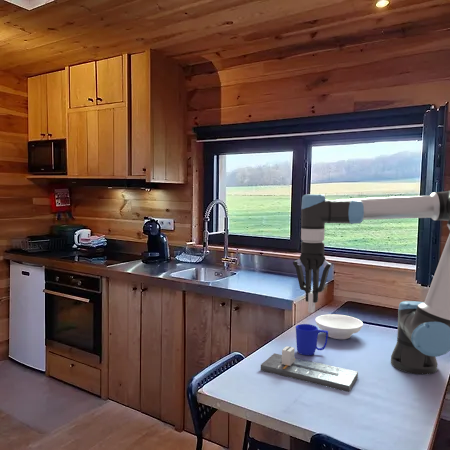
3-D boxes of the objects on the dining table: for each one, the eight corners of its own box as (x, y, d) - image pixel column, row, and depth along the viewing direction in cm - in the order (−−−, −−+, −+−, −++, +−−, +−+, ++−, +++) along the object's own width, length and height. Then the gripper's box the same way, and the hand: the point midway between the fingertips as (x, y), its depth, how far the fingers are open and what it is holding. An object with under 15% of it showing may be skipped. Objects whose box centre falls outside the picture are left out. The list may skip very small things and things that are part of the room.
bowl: (355, 348, 167) (356, 331, 167) (308, 339, 178) (308, 323, 177) (367, 334, 184) (368, 319, 183) (323, 326, 194) (324, 311, 194)
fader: (294, 361, 148) (294, 347, 148) (290, 365, 145) (290, 351, 145) (286, 360, 150) (286, 345, 149) (281, 363, 146) (282, 349, 146)
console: (357, 377, 142) (358, 371, 142) (349, 392, 131) (349, 385, 131) (274, 358, 157) (274, 352, 156) (260, 370, 146) (260, 364, 146)
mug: (327, 359, 157) (328, 332, 156) (294, 356, 159) (295, 329, 158) (327, 350, 165) (327, 325, 164) (295, 348, 167) (296, 323, 166)
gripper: (335, 241, 140) (334, 311, 142) (297, 238, 147) (296, 306, 149) (329, 243, 134) (327, 317, 136) (289, 241, 140) (289, 311, 142)
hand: (311, 311), depth 142 cm, fingers closed
